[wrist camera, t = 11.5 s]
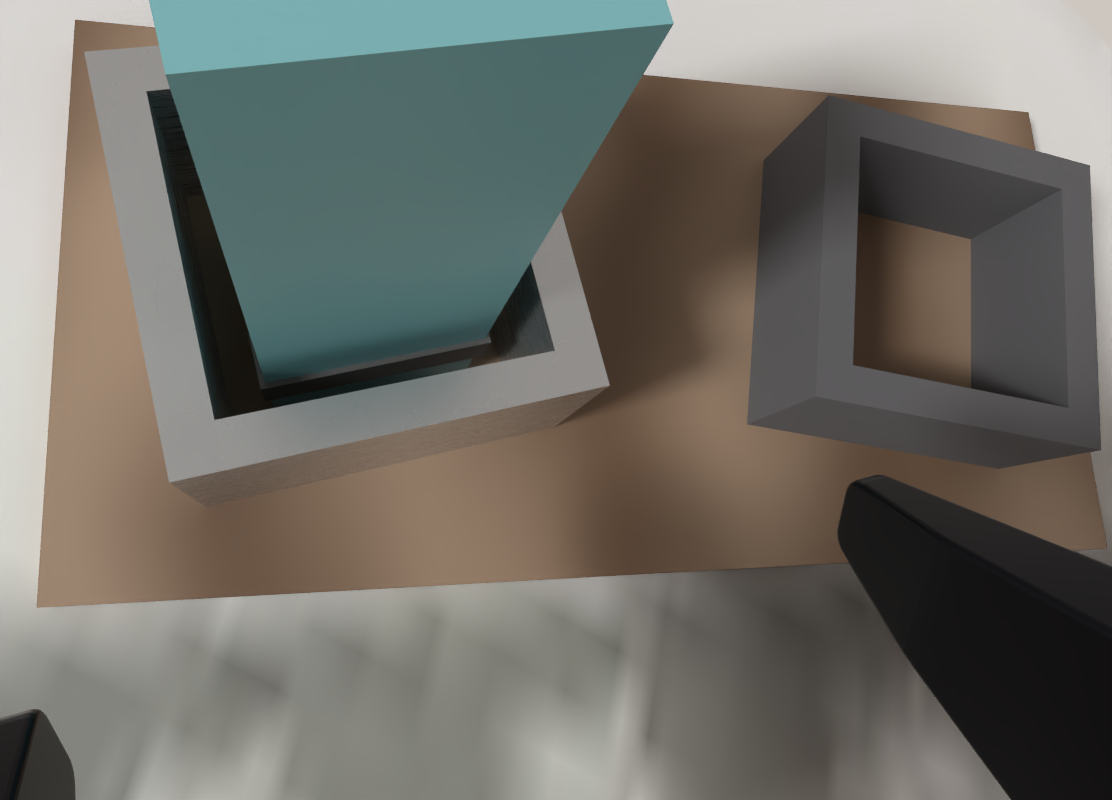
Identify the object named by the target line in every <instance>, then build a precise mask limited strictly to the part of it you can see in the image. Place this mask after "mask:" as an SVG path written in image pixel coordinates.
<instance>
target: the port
mask: <svg viewBox="0 0 1112 800" xmlns="http://www.w3.org/2000/svg"><path fill="white" fill-rule="evenodd" d="M84 53H85V58H86V63H87V69H88V74H89V79H90V84H91V89H92V94H93V99H94V104H95V109H96V114H97V119H98V124H99V129H100V135H101V140H102V145H103V150H104V155H105V160H106V165H107V170H108V175H109V180H110V185H111V190H112V195H113V201H114V206H115V211H116V216H117V221H118V226H119V231H120V236H121V241H122V246H123V251H124V256H125V261H126V267H127V272H128V277H129V282H130V287H131V292H132V297H133V302H134V307H135V312H136V317H137V322H138V327H139V333H140V338H141V343H142V348H143V353H144V358H145V363H146V368H147V373H148V378H149V383H150V388H151V393H152V399H153V404H154V409H155V414H156V419H157V424H158V429H159V434H160V439H161V444H162V449H163V454H164V459H165V465H166V470H167V475H168V480H169V483H170V484H172V485H173V486H175V487H176V488H178V489H179V490H181V491H182V492H184V493H185V494H187V495H188V496H190V497H191V498H193V499H194V500H196V501H197V502H199V503H200V504H202V505H203V506H205V507H210V506H214V505H218V504H223V503H227V502H231V501H236V500H240V499H244V498H249V497H253V496H257V495H262V494H266V493H270V492H275V491H279V490H283V489H288V488H292V487H296V486H301V485H305V484H309V483H314V482H318V481H322V480H327V479H331V478H335V477H340V476H344V475H348V474H353V473H357V472H361V471H366V470H370V469H374V468H379V467H383V466H387V465H392V464H396V463H400V462H405V461H409V460H413V459H418V458H422V457H426V456H431V455H435V454H439V453H444V452H448V451H452V450H457V449H461V448H465V447H470V446H474V445H478V444H483V443H487V442H491V441H496V440H500V439H504V438H509V437H513V436H517V435H522V434H526V433H530V432H535V431H539V430H543V429H548V428H552V427H555V426H556V425H558V424H559V423H560V422H562V421H563V420H564V419H566V418H567V417H568V416H570V415H571V414H572V413H574V412H575V411H576V410H578V409H579V408H580V407H582V406H583V405H584V404H586V403H587V402H588V401H590V400H591V399H592V398H594V397H595V396H596V395H598V394H599V393H600V392H602V391H603V390H604V389H606V388H607V387H609V386H610V384H609V381H608V377H607V373H606V370H605V366H604V363H603V359H602V355H601V352H600V348H599V345H598V341H597V337H596V334H595V330H594V327H593V323H592V320H591V316H590V312H589V309H588V305H587V302H586V298H585V294H584V291H583V287H582V284H581V280H580V276H579V273H578V269H577V266H576V262H575V258H574V255H573V251H572V248H571V244H570V240H569V237H568V233H567V230H566V226H565V222H564V219H563V215H562V212H560V214H559V216H558V217H557V219H556V221H555V222H554V224H553V226H552V227H551V229H550V231H549V232H548V234H547V236H546V237H545V239H544V241H543V242H542V244H541V246H540V247H539V249H538V251H537V252H536V254H535V256H534V257H533V259H532V261H531V262H530V264H529V266H528V267H527V269H526V271H525V272H524V274H523V276H522V277H521V279H520V281H519V282H518V284H517V286H516V287H515V289H514V291H513V292H512V294H511V296H510V297H509V299H508V301H507V302H506V304H505V306H504V307H503V309H502V311H501V312H500V314H499V316H498V317H497V319H496V321H495V322H494V324H493V326H492V332H493V336H494V340H495V343H496V347H497V351H498V355H499V359H500V362H497V363H492V364H487V365H482V366H477V367H472V368H467V369H462V370H458V371H453V372H448V373H443V374H438V375H433V376H428V377H423V378H418V379H413V380H408V381H404V382H399V383H394V384H389V385H384V386H379V387H374V388H369V389H364V390H359V391H354V392H350V393H345V394H340V395H335V396H330V397H325V398H320V399H315V400H310V401H305V402H301V403H296V404H291V405H286V406H281V407H276V408H271V409H266V410H261V411H256V412H251V413H247V414H242V415H237V416H232V414H231V410H230V405H229V400H228V395H227V391H226V386H225V381H224V376H223V372H222V367H221V362H220V357H219V352H218V348H217V343H216V338H215V333H214V329H213V324H212V319H211V314H210V310H209V305H208V300H207V295H206V291H205V286H204V281H203V276H202V272H201V267H200V262H199V257H198V253H197V248H196V243H195V238H194V234H193V229H192V224H191V219H190V215H189V210H188V205H187V200H186V197H190V196H197V195H204V192H203V189H202V186H201V183H200V179H199V176H198V173H197V170H196V167H195V164H194V161H193V158H192V155H191V152H190V149H189V146H188V142H187V139H186V136H185V133H184V130H183V127H182V124H181V121H180V118H179V115H178V112H177V108H176V105H175V102H174V99H173V96H172V93H171V90H170V87H169V84H168V81H167V78H166V74H165V70H164V65H163V61H162V56H161V52H160V47H159V46H147V47H135V48H123V49H111V50H99V51H87V52H84Z"/></svg>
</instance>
